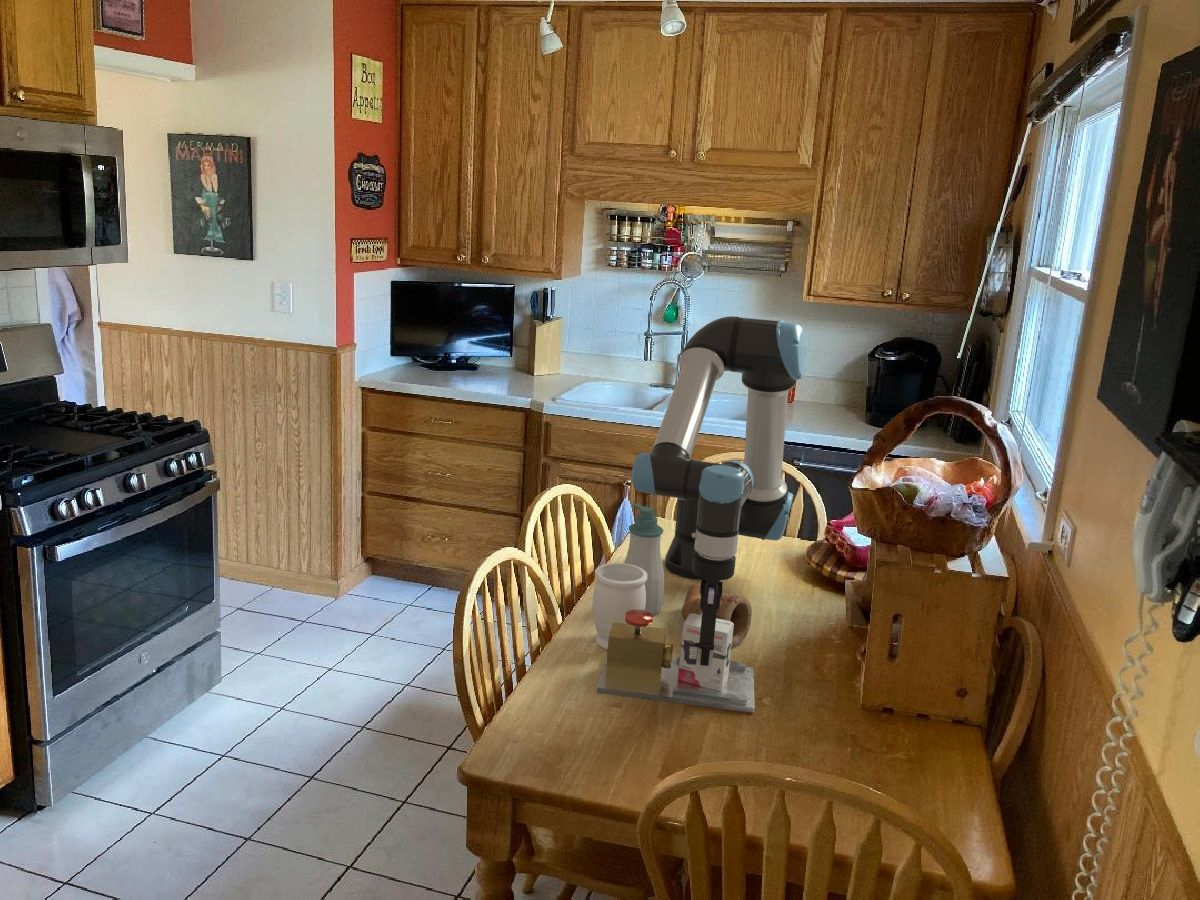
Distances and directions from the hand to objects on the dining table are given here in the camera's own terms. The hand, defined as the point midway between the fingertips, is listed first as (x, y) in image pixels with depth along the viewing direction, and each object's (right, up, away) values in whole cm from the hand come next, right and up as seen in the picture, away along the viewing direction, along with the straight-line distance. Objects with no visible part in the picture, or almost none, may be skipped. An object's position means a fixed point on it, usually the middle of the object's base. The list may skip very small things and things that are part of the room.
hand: (703, 661), depth 173 cm
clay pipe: (+5, +1, +24) cm, 24 cm away
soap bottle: (-10, +4, +32) cm, 34 cm away
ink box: (0, -4, +1) cm, 4 cm away
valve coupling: (-5, -4, +2) cm, 7 cm away
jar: (-16, 0, +16) cm, 22 cm away
